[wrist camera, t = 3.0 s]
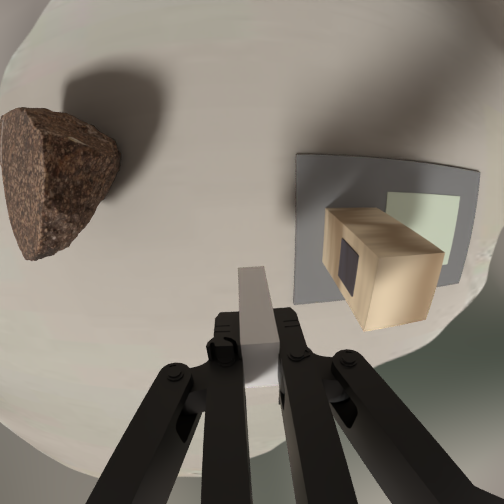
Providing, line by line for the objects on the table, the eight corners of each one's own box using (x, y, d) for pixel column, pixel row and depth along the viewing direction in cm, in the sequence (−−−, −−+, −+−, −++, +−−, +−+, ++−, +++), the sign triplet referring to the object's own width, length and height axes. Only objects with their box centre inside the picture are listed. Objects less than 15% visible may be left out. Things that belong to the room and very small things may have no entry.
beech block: (321, 261, 24) (362, 331, 15) (324, 208, 22) (377, 257, 13) (370, 258, 25) (425, 319, 15) (376, 207, 23) (445, 252, 13)
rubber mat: (293, 302, 27) (293, 305, 26) (295, 154, 21) (297, 154, 20) (457, 281, 27) (459, 283, 27) (478, 171, 22) (480, 172, 21)
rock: (-5, 142, 14) (1, 61, 7) (87, 119, 21) (130, 50, 15) (26, 275, 16) (26, 250, 9) (124, 230, 23) (181, 191, 17)
